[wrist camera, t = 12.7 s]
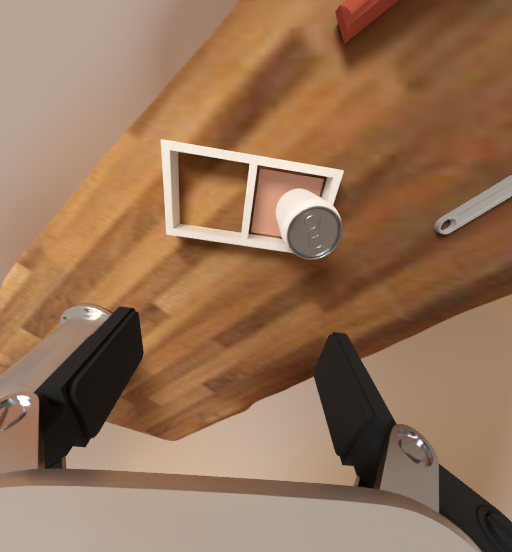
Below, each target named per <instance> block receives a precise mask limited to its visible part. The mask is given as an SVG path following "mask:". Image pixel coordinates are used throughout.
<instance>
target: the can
mask: <svg viewBox="0 0 512 552" xmlns="http://www.w3.org/2000/svg"><path fill="white" fill-rule="evenodd" d="M276 219H277V223H278V226H279V230H280V233H281V236H282V239H283V242H284V244H285V245H286V247H287V248H288V249H289V250H290V251H291V252H292V253H294V254H295V255H297V256H299V257H300V258H303V259H308V260H315V259H320V258H322V257H325V256H327V255H328V254H330V253H331V252H332V251H333V250H334V249H335V248H336V247H337V245H338V244H339V242H340V240H341V237H342V231H343V228H342V222H341V218H340V215H339V213H338V211H337V210H336V209H335V207H334V206H333V205H331V204H330V203H329V202H327V201H326V200H324V199H322V198H320V197H319V196H317V195H315V194H313V193H312V192H310V191H308V190H305V189H299V188H298V189H293V190H290V191H288V192H287V193H285V194H284V195H283V196H282V197H281V198H280V200H279V201H278V203H277V206H276Z"/></svg>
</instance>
